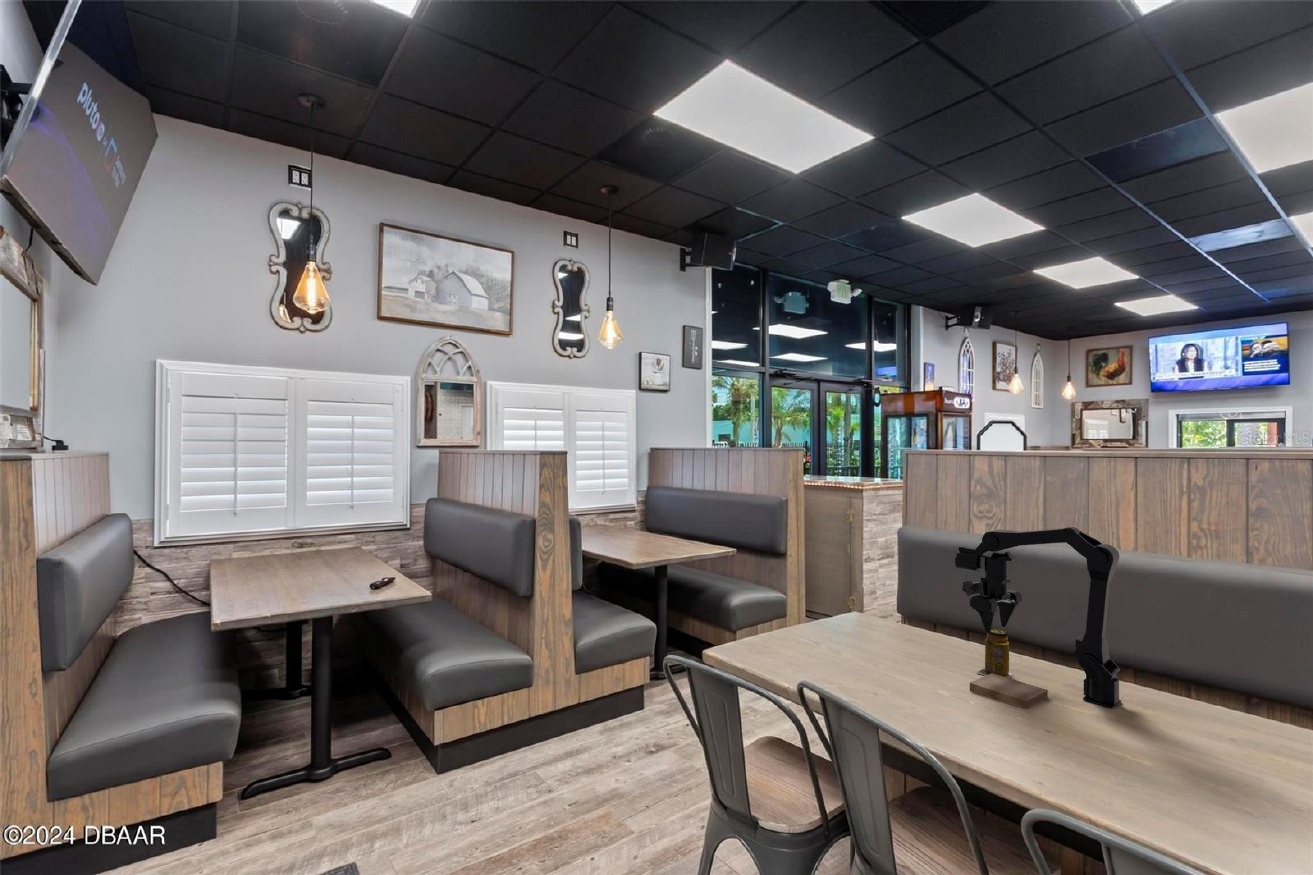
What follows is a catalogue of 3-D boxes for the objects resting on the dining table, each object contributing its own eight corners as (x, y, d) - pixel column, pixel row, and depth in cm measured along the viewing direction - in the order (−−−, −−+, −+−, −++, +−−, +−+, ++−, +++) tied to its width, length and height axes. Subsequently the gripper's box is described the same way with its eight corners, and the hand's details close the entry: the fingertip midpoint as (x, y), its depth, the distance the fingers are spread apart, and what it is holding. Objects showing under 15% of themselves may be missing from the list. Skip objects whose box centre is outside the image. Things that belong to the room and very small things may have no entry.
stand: (1047, 697, 159) (1047, 689, 159) (1026, 709, 152) (1026, 701, 152) (992, 680, 171) (992, 673, 171) (969, 690, 164) (969, 682, 164)
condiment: (1014, 673, 176) (1014, 631, 176) (1004, 681, 170) (1004, 637, 170) (986, 666, 181) (986, 625, 181) (976, 674, 176) (976, 631, 176)
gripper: (983, 566, 188) (983, 617, 188) (950, 573, 177) (950, 628, 177) (1022, 572, 179) (1022, 626, 179) (990, 580, 168) (990, 638, 168)
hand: (995, 629), depth 176 cm, fingers open, 9 cm apart
